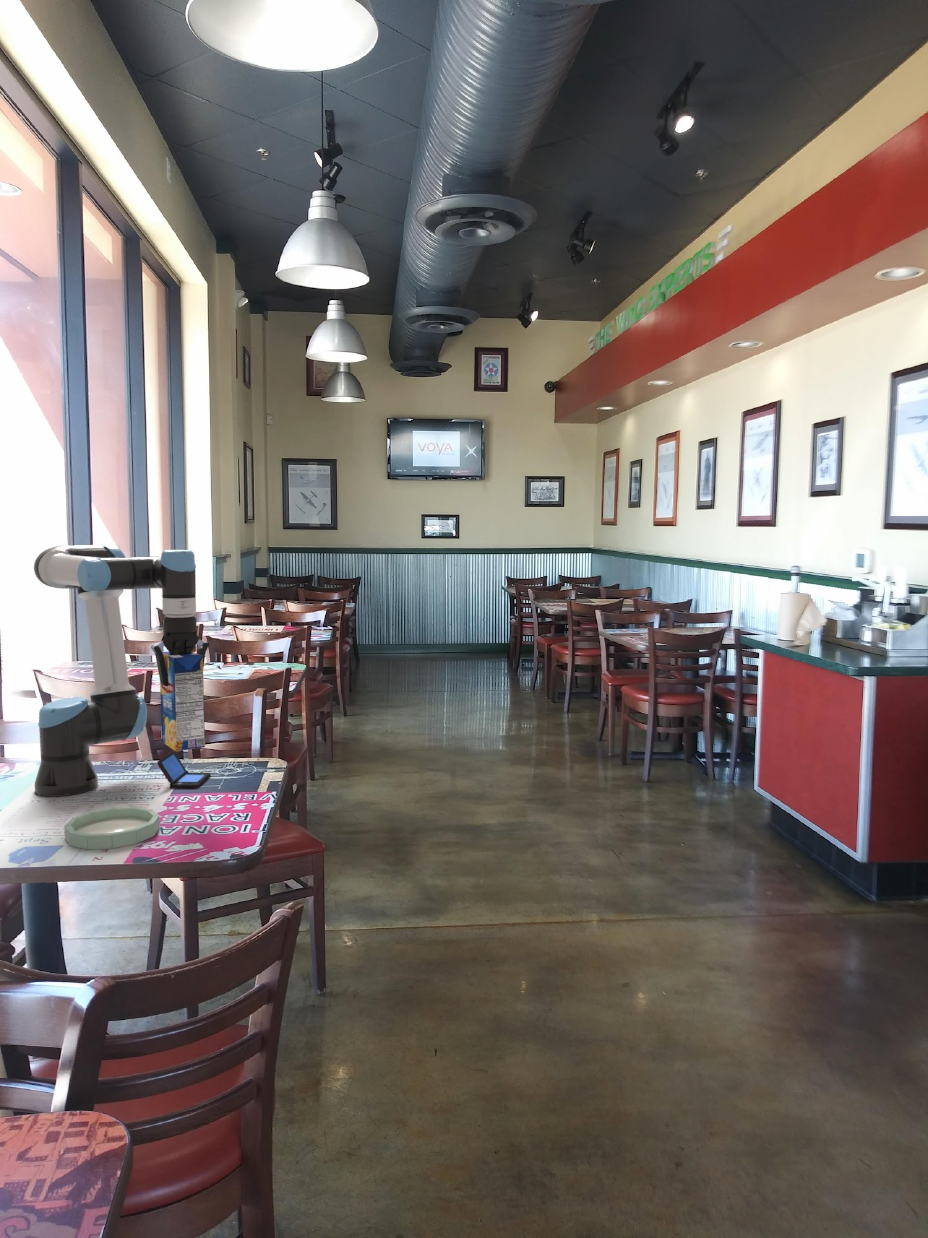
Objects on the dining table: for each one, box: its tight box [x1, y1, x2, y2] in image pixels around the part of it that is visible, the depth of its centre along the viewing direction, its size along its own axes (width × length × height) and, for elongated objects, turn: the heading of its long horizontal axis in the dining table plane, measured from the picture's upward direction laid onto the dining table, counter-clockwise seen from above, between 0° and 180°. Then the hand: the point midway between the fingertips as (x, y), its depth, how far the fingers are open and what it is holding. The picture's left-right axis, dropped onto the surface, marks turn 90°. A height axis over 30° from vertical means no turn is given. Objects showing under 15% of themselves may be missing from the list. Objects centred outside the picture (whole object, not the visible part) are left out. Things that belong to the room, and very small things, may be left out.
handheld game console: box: [157, 750, 211, 789], centre depth 230 cm, size 12×11×7 cm
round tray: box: [64, 806, 161, 850], centre depth 191 cm, size 19×19×3 cm
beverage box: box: [159, 651, 206, 752], centre depth 203 cm, size 7×11×22 cm, turn 36°
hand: (182, 713), depth 203 cm, fingers closed on beverage box, 2 cm apart
